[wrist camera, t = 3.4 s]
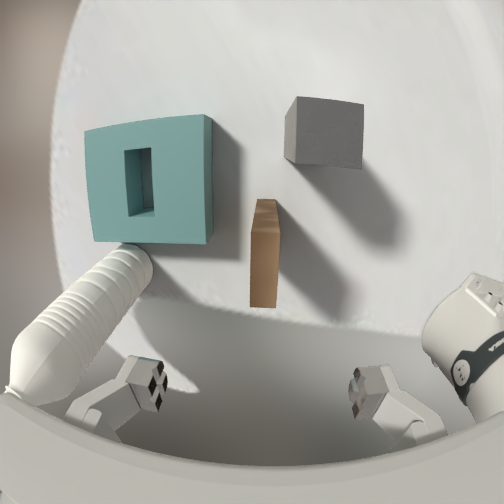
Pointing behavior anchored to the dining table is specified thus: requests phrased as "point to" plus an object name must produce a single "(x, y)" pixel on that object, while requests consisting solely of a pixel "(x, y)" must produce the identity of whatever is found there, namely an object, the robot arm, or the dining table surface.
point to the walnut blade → (264, 255)
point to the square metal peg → (324, 132)
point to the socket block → (163, 178)
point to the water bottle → (76, 326)
